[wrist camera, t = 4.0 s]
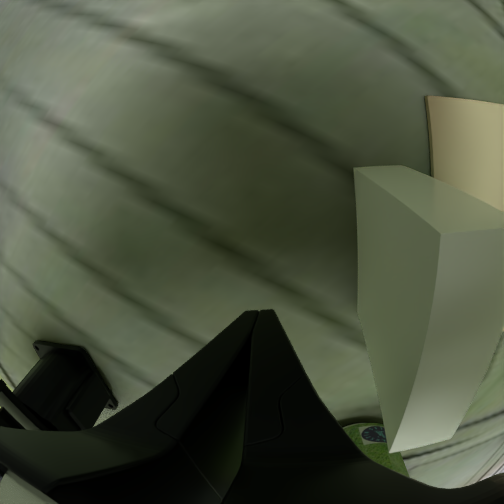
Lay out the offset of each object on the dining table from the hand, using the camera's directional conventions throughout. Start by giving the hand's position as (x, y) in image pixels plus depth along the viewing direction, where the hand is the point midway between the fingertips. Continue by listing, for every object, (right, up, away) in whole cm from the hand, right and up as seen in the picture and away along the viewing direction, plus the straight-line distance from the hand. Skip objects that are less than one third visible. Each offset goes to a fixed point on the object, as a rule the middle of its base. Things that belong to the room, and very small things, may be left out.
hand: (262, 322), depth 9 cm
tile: (+5, +2, +4) cm, 7 cm away
